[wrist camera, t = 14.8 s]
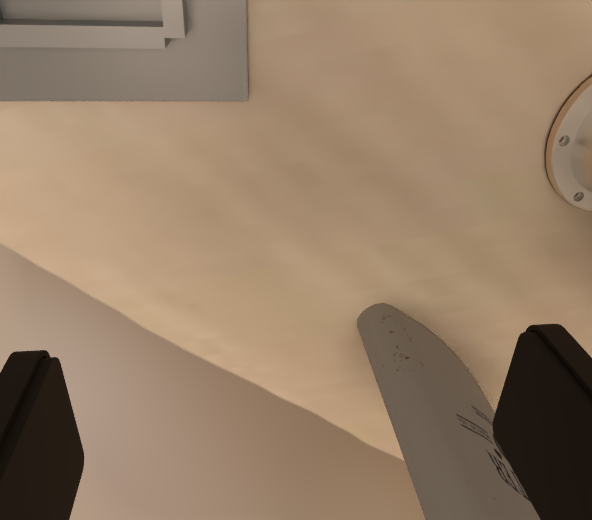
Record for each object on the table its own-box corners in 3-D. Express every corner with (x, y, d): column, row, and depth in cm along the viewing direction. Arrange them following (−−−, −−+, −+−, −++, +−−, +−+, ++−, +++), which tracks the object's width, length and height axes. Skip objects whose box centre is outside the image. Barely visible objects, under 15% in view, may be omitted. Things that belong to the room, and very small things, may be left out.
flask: (489, 382, 55) (657, 656, 33) (454, 407, 56) (595, 685, 35) (387, 291, 47) (521, 569, 26) (350, 322, 49) (448, 611, 27)
